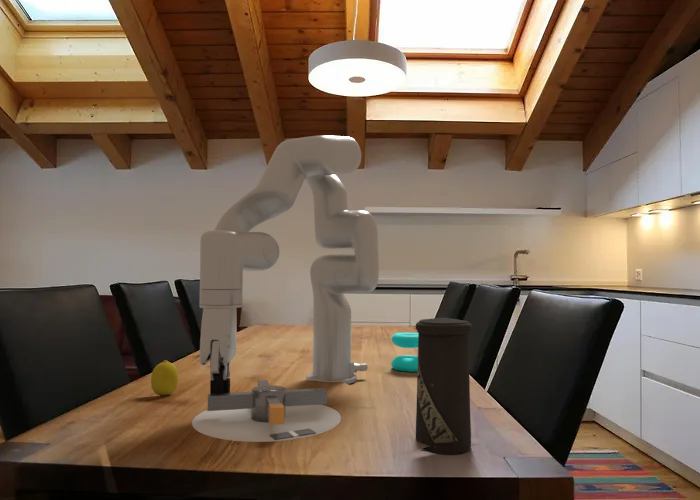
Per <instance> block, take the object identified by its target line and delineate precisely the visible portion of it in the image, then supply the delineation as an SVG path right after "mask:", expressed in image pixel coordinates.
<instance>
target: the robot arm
mask: <svg viewBox="0 0 700 500" xmlns="http://www.w3.org/2000/svg"><path fill="white" fill-rule="evenodd" d="M361 162H362V150H361V147H360V145H359V143H358V141H356V140H355V138H353V137H350V136H349V135H348V136H344V135H343V136H341V135H325V134H324V135H323V134H322V135H312V136H310V135H309V136H304V137H297V138H296V137H295V138H289V139H286V140H284V141H282V142H280V143H279V144H278V145H277V147H276V148H275V150H274V152H273V154H272V155H271V157H270V159H269V161H268V163H267V164H266V165H267V166H266V167H265V170H264V171H263V173H262V175H261V177H260V180H259V181H258V183H257V185H256V186H255V187H254V188H253V189H252V190H250V191H249V192H248V193H246V194H245V195H244V196H242V197H241V198H240V199H239V200H238V201H236V202H235V203H234V204H233V205H231V207H229V208H228V209H227V210H226V212H225V213H224V214H223V215H222V216H221V218H220V219H219V221H218V223H217V224H216V226H215V228H214V230H207V231H204V232H203V233H202V234H201V236H200V242H199V244H200V245H199V247H200V250H199V251H200V252H199V262H200V263H199V308H200V309H202V316H201V317H202V318H201V325H200V340H199V357H198V358H199V364H200V365H201V366H205V365H207V364H208V363H209V365H210V368H209V369H210V370H209V371H210V382H209V386H210V387H209V390H210V391H209V392H210V393H209V394H217V393H231V377H230V375H231V361H232V360H233V359H234V358H235V357H236V354H237V341H238V338H237V335H238V333H237V331H238V327H237V326H238V325H237V324H238V323H237V322H238V320H237V319H238V318H237V317H238V316H237V315H238V314H237V313H238V312H237V309H238V308H242V307H243V289H244V288H243V285H244V284H243V282H244V281H243V280H244V278H243V277H244V273H243V272H245V271H247V272H261V271H266V270H268V269H270V268H272V267H274V265H275V264H276V263H277V262H278V259H279V257H280V246H279V243H278V241H277V240H276V238H275V237H273V236H272V235H271V234H269V233H266V232H262V231H252V230H253V229H254V228H256V227H257V226H258V225H260V224H263V223H265V222H266V221H269V220H271V219H274V218H276V217H278V216H280V215H282V214H284V213H286V212H287V211H289V210H291V208H292V207H293V205H294V204H295V202H296V200H297V196H298V195H299V192H300V190H301V188H302V186H303V183H304V181H306V183H307V184H308V187H310V188H309V189H310V190H311V193H312V198H313V213H314V216H313V217H314V236H315V241H316V244H317V245H318V246H319V247H320V248H322V249H327V250H353V251H354V254H343V253H342V254H325V255H321V256H319V257H316V258H315V259H314V261H312V263H311V265H310V269H309V270H310V271H309V276H310V282H311V283H310V284H311V288H312V295H313V296H312V297H313V298H312V299H313V324H312V325H313V327H312V329H313V330H312V334H313V335H312V372H310V373H308V374H307V375H306V382H307V381H313V382H321V383H343V384H345V385H346V384H347V385H349V384H354V383H355V382H357V375H356V374H355V373H357V372H364V371H365V372H366V371H367V370H368V364H367V363H366V362H362V363H357V362H354V361H351V358H352V357H351V354H352V352H351V351H352V346H351V345H352V308H351V305H350V303H349V301H348V299H347V297H346V296H345V295H344V294H346V293H347V294H349V293H350V294H369V293H371V292H373V291H374V290H375V289H376V288H377V286H378V283H379V276H380V275H379V270H380V267H379V265H380V263H379V236H378V235H379V234H378V226H377V222H376V221H375V220H376V219H375V217H374V216H373V214H371V212H369V211H367V210H360V209H359V210H358V209H356V210H349V207H348V192H347V189H346V187H345V185H344V184H343V182H342V181H341V179H340V178H339V176H338V175H344V174H352V173H354V172H356V171H357V170H358V168H359V166H361Z"/></svg>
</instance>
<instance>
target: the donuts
mask: <svg viewBox="0 0 700 500" xmlns="http://www.w3.org/2000/svg"><path fill="white" fill-rule="evenodd" d="M391 342H392V344H394V346H397V347H399V348H404V349H416V348H417V349H418V332H396V333H394V334H393V335H392V336H391ZM390 364H391V368H393V369H394V370H396V371H399V372H405V373H406V372H407V373H413V372H414V373H415V372H416V373H417V371H418V355H408V354H406V355H404V354H403V355H398V356H395V357H394V358H393V359H392V361H391V363H390Z"/></svg>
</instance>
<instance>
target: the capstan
mask: <svg viewBox="0 0 700 500" xmlns="http://www.w3.org/2000/svg"><path fill="white" fill-rule="evenodd" d="M319 404H321V405H327V404H328V390H327V389H326V387H320V388H299V389H297V388H296V389H286V387H284V386H281V385H270V383H269V381H268V379H259V380H257V386H256V387H253V388H251V391H239V392H230V393H217V394H210V393H207V407H206V408H207V411H218V410H235V409H251V419H252V420H253V421H257V422H269V424H270V425H278V424H284V418H285V406H302V405H319Z"/></svg>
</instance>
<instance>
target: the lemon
mask: <svg viewBox="0 0 700 500" xmlns="http://www.w3.org/2000/svg"><path fill="white" fill-rule="evenodd" d="M178 371H179V370H178V368H177V367H176V365H175V364H174V363H171V362H170V361H168V360H166V359H165V360H163V361H162V362H160V363H158V364H156V365H155V367H154V368H153V370H152V372H151V377H150V386H151V389H152V391H153V392H154V393H155V394H156V395H158V396H161V397H162V396H169V395H172V393H174V392H176V389H177V388H178V385H179V381H180V380H179V379H180V376H179V372H178Z"/></svg>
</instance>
